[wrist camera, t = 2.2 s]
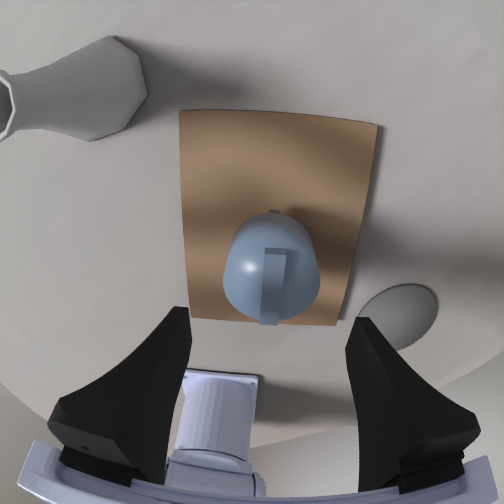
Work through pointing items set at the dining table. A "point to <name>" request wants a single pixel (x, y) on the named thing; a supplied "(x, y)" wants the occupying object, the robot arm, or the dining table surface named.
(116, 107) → the flask
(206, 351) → the dining table surface
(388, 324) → the coaster
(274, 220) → the cap
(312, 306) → the post base
